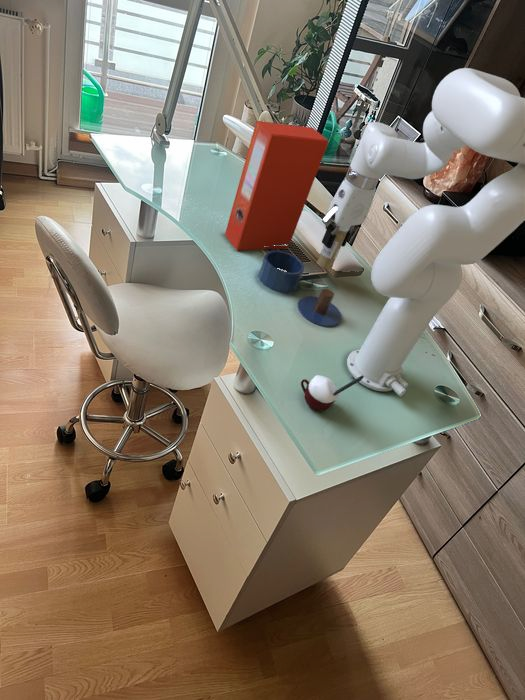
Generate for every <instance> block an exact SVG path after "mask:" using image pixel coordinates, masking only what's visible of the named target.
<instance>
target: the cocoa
mask: <svg viewBox="0 0 525 700" xmlns="http://www.w3.org/2000/svg"><path fill="white" fill-rule="evenodd" d="M363 378H364V376H360V377H358V378H357V379H355V378H354V380H352V381H350V382H348V383H347V384H344V385H343V386H341V387H340V388H337V387H336V386H335V383H334V382H333V381H332V380H331V378H329V377H327V376H325V375H324V376H323V375H321V374H320V375H319V374H316V375H314V377H312V379H311V380H308V379H306V378H305V379H302V380H301V382H300V386H301V389H302V391H303V394H304V401H305V403H306V404H307V406H308V407H309V408H311V409H313V410H314V411H319V412H321V411H327V410H328V409H329V408H331V407H332V405H333V404H334V403H335V402H336V400H338V398H339V396H340V393H342V392H343V391H345V390H347V389H349V388H350V387H353V386H355V384H357V383H359V381H361V380H362V379H363ZM304 383H306V387H305V384H304Z"/></svg>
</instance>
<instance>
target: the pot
mask: <svg viewBox="0 0 525 700" xmlns="http://www.w3.org/2000/svg"><path fill="white" fill-rule="evenodd" d="M277 268H280V269H283V270H286V271H287V272H284V271H281V270H279V269H277ZM304 270H305V265H304V263H303V261H301V260H300V259H299V258H298V257H297V256H295V255H293V254H291V253H289V252H286V251H283V250H278V249H274V250H269V251H268V252H265V255H264V258H263V261H262V264H261V267H260V269H259V272H258V279H259V282H261V284H262V285H263V286H264V287H265V288H268V289H269V290H271V291H274V292H276V293H280V294H281V293H282V294H289V293H294V291H296V290H297V288H298V285H299V283H300V281H301V279H302V276H303V273H304Z"/></svg>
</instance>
